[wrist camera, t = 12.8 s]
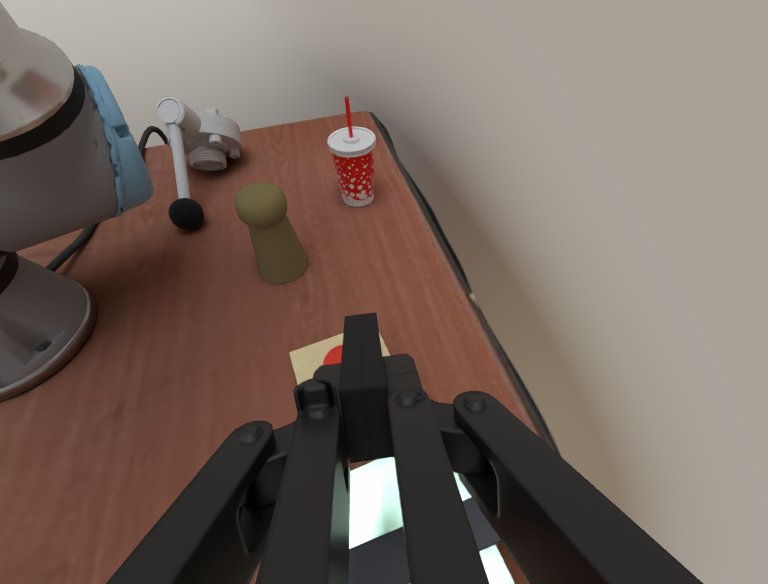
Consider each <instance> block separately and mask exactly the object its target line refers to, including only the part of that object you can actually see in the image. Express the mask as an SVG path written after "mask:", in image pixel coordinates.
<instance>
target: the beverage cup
mask: <svg viewBox="0 0 768 584" xmlns="http://www.w3.org/2000/svg"><path fill="white" fill-rule="evenodd" d="M345 105H346V114H347V122H348V127H346V128H342V129H339V130H337V131H335V132H333V133H332V134H331V135H330V136H329V137H328V145H329V149H330V151H331V152H332V156H333V160H334V164H335V168H336V173H337V177H338V181H339V185H340V190H341V194H342V198H343V201H344V202H345V204H347V205H349V206H353V207H362V206H365V205H368V204H369V203H371V202H372V200H373V199H374V153H373V148H374V147H375V134H374V133H373V132H372V131H371V130H369V129H366V128H362V127H352V123H351V114H350V106H349V98H348V97H345Z"/></svg>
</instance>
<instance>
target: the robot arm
mask: <svg viewBox="0 0 768 584" xmlns="http://www.w3.org/2000/svg"><path fill="white" fill-rule="evenodd" d="M152 132H156V133H157V134H158V135H159V136H160V137H161V138H162V140H163V141H164V143H165V144H168V139H167V137H166V135H165V134H164V133H163V132H162V131H161V130H160V129H159V128H157V127H154V126H150V127H148V128H147V129H146V130H145V131H144V133H143V135H142V138H141V140H140V143H139V145H138V147H137V144H136V142H135V141H134V138H133V136H132V134H131V133H130V131H129V128H128V126H127V124H126V122H125V119H124V117H123V114H122V112H121V110H120V108H119V106H118V104H117V102H116V100H115V98H114V96H113V94H112V92H111V90H110V88H109V86H108V84H107V82H106V81H105V79H104V77H103V75H102V74H101V72H100V71H99V70H98V69H97V68H95V67H93V66H83V65H80V64H79V65H76V66H75V67H74V66H73V65H72V63H71V62H70V60H69V59H68V57H67V56H66V55H65V53H64V52H63V51H62V50H61V49H60V48H59V47H58V46H57V45H56V44H55V43H54V42H52V41H50V40H48V39H47V38H45V37H43V36H41V35H39V34H37V33H34V32H31V31H28V30H25V29H22V28H19V27H18V26H17V24H16V23H15V22H14V20H13V19H12V18H11V16H10V15H9V13H8V12H7V11H6V9H5V8H4V6H3V5H2V4H1V2H0V401H2V400H5V399H8V398H11V397H13V396H16V395H18V394H20V393H22V392H24V391H26V390H28V389H30V388H32V387H34V386H36V385H37V384H39V383H41V382H42V381H44V380H45V379H47V378H48V377H50V376H51V375H53V374H54V373H55V372H56V371H58V370H59V369H60V368H61V367H63V366H64V365H65V364H66V363H67V362H68V361H69V360H70V359H71V358H72V357H73V356H74V355H75V354H76V353H77V352H78V351H79V349H80V348H81V347H82V346H83V344H84V343H85V342H86V340H87V338H88V337H89V335H90V333H91V331H92V329H93V327H94V324H95V321H96V317H97V305H96V302H95V300H94V298H93V296H92V295H91V294H90V293H89V292H88V291H87V290H86V289H85V288H84V287H83V286H81V285H80V284H79V283H78V282H76V281H74V280H73V279H71V278H69V277H66V276H63V275H61V274H57V273H55V271H56V270H57V269H58V268H59V267H60V266H61V265H62V264H63V263H64V262H65V261H66V260H67V259H68V258H69V257H70V256H71V255H72V254H73V253H75V252H76V251H77V250H78V249H79V248H80V247H81V246H82V245H83V244H84V243H85V241H86V240H87V239H88V238H89V236H90V235H91V233H92V232H93V230H94V228H95V227H96V225H97V223H99V222H102V221H105V220H107V219H110V218H113V217H118V216H120V215H121V214H122V213H123V212H125V211H128V210H130V209H132V208H134V207H137V206H139V205H141V204H143V203H145V202H147V201H148V200H149V199H150V197H151V196H152V194H153V183H152V180H151V177H150V174H149V172H148V169H147V167H146V164H145V162H144V157H143V151H144V148H145V145H146V143H147V140H148V137H149V135H150V134H151V133H152ZM82 228H84V230H83V231H82V233H81V234H80V235H79V236H78V238H77V239H76V240H75V241H74V242H73V243H72V244H71V245H69V246H68V247H67V248H66V249H65V250H64V251H62V252H61V253H60V254H59V255H58V256H57V257H56V258H55V259H54V260H53V261H52V262H51V263H50V264H49V265H48V266H47V267H46V268H45V267H43V266H40V265H38V264H36V263H34V262H32V261H30V260H27V259H25V258H23V257H21V256H19V255H18V254H17V253H15V252H17V251H19V250H22V249H25V248H28V247H31V246H34V245H36V244H39V243H42V242H45V241H48V240H51V239H53V238H56V237H59V236H62V235H65V234H68V233H70V232H73V231H76V230H79V229H82ZM293 392H294V397H295V402H296V407H297V412H298V416H297V420H296V421H294V422H293V423H291V424H289V425H286V426H284V427H281V428H278V429H275V430H273V428H272V425H271V424H270V423H269V422H266V421H253V422H249V423H246V424H244V425H242V426H240V427H238V428H237V429H235V430H234V431H233V432H232V433H231V434H230V435H229V436H228V437H227V439H226V440H225V441H224V442H223V443H222V445H221V446H220V447H219V448H218V449H217V451H216V452H215V453H214V454H213V455H212V457H211V458H210V459H209V460H208V461H207V463H206V464H205V465H204V466H203V467H202V469H201V470H200V471H199V472H198V473H197V475H196V476H195V477H194V478H193V480H192V481H191V482H190V483H189V484H188V486H187V487H186V488H185V489H184V490H183V492H182V493H181V494H180V495H179V496H178V498H177V499H176V500H175V501H174V502H173V504H172V505H171V506H170V507H169V508H168V510H167V511H166V512H165V513H164V514H163V516H162V517H161V518H160V519H159V520H158V522H157V523H156V524H155V525H154V526H153V528H152V529H151V530H150V531H149V532H148V534H147V535H146V536H145V537H144V538H143V540H142V541H141V542H140V543H139V544H138V546H137V547H136V548H135V549H134V550H133V552H132V553H131V554H130V555H129V557H128V558H127V559H126V560H125V561H124V563H123V564H122V565H121V566H120V567H119V569H118V570H117V571H116V572H115V573H114V575H113V576H112V577H111V578H110V579H109V581H108V582H107V583H106V584H249V583H250V581H251V579H252V577H253V575H254V573H255V571H256V569H257V567H258V565H259V563H260V561H261V564H260V568H259V572H258V576H257V580H256V584H349V532H350V477H351V475H350V469H349V463H348V460H349V459H350V463H354V462H361V461H368V460H375V459H382V458H390V457H394V461H395V469H396V477H397V486H398V492H399V500H400V507H401V515H402V523H403V530H404V538H405V546H406V554H407V561H408V569H409V577H410V584H490V583H489V580H488V577H487V574H486V571H485V568H484V565H483V562H482V559H481V556H480V553H479V550H478V547H477V544H476V540H475V537H474V534H473V531H472V528H471V525H470V522H469V519H468V516H467V513H466V510H465V507H464V504H463V501H462V498H461V495H460V492H459V488H458V485H457V482H456V479H455V476H454V473H453V472H455V473H457V474H458V477H459V479H460V481H461V482H462V484H463V485H464V487H465V488H466V490H467V491H468V493H469V494H470V495H471V497H472V498H473V500H474V501H475V503H476V504H477V506H478V507H479V509H480V510H481V512H482V513H483V515H484V516H485V517H486V519H487V520H488V522H489V523H490V525H491V526H492V528H493V529H494V531H495V532H496V534H497V535H498V537H499V538H500V540H501V541H502V542H503V544H504V545H505V547H506V548H507V550H508V551H509V553H510V554H511V556H512V557H513V559H514V560H515V562H516V563H517V564H518V566H519V567H520V569H521V570H522V572H523V573H524V575H525V576H526V578H527V579H528V581H529V582H530V584H703V583H702V582H701V581H700V580H699V579H697V578H696V577H695V576H694V575H693V574H692V573H691V572H690V571H689V570H687V569H686V568H685V567H684V566H683V565H682V564H681V563H679V562H678V561H677V560H676V559H675V558H674V557H673V556H672V555H671V554H669V553H668V552H667V551H666V550H665V549H664V548H663V547H662V546H660V545H659V544H658V543H657V542H656V541H655V540H654V539H653V538H651V537H650V536H649V535H648V534H647V533H646V532H645V531H644V530H642V529H641V528H640V527H639V526H638V525H637V524H636V523H635V522H634V521H632V520H631V519H630V518H629V517H628V516H627V515H626V514H624V513H623V512H622V511H621V510H620V509H619V508H618V507H617V506H616V505H614V504H613V503H612V502H611V501H610V500H609V499H608V498H607V497H605V496H604V495H603V494H602V493H601V492H600V491H599V490H598V489H596V488H595V487H594V486H593V485H592V484H591V483H590V482H589V481H587V480H586V479H585V478H584V477H583V476H582V475H581V474H580V473H579V472H577V471H576V470H575V469H574V468H573V467H572V466H571V465H570V464H568V463H567V462H566V461H565V460H564V459H563V458H562V457H561V456H559V455H558V454H557V453H556V452H555V451H554V450H553V449H552V448H550V447H549V446H548V445H547V444H546V443H545V442H544V441H543V440H541V439H540V438H539V437H538V436H537V435H536V434H535V433H534V432H533V431H531V430H530V429H529V428H528V427H527V426H526V425H525V424H524V423H522V422H521V421H520V420H519V419H518V418H517V417H516V416H515V415H513V414H512V413H511V412H510V411H509V410H508V409H507V408H506V407H504V406H503V405H502V404H501V403H500V402H499V401H498V400H497V399H495V398H494V397H493V396H491V395H490V394H488V393H484V392H481V391H468V392H463V393H461V394H459V395H457V397H456V398H455V399H454V402H453V404H446V403H439V402H436V401H433V400H431V399H429V397H428V395H427V394H426V392H425V391H423V388H422V385H421V382H420V379H419V376H418V373H417V369H416V367H415V363H414V360H413V358H411V357H410V356H409V355H407V354H399V355H391V356H384V357H382V350H381V343H380V336H379V329H378V322H377V315H376V313H368V314H360V315H352V316H345V322H344V334H343V345H342V356H341V363H337V364H329V365H321V366H319V368H318V369H317V370H316V371H315V372H314V374H313V378H312V379H308V380H306V381H304V382H302V383H300V384H299V385H298V386H296V388H295V389H294V391H293ZM261 559H262V560H261Z"/></svg>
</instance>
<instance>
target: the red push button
mask: <svg viewBox="0 0 768 584" xmlns="http://www.w3.org/2000/svg"><path fill="white" fill-rule="evenodd" d="M341 356H342V345H339V346H336V347H334V348H332V349H331V350H330V351H329V352H328V353H327V355H326V356H325V358H324V362H323V365H329V364H337V363H341Z"/></svg>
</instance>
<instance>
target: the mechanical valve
mask: <svg viewBox="0 0 768 584" xmlns="http://www.w3.org/2000/svg"><path fill="white" fill-rule="evenodd" d="M156 108H158V114H159V117H160V119H161V120H162V121H163V122H165V125H166V131H167V138H168V145H169V147H170V148H171V149H172V152H173V160H174V168H175V175H176V183H177V191H178V198H179V199H177V200H175V201H174V202H173V203H172V204H171V206H170V208H169V217H170V219H171V221H172V222H173V223H174V224H175V225H176V226H177V227H179V228H182V229H194V228H196V227H198V226H199V225H200V224H201V223H202V221H203V218H204V213H203V209H202V208H201V206H200V205H199V204H198V203H197V202H196V201H194V200H192V199H191V197H190V190H189V182H188V175H187V167H186V160H185V155H187V156H189V159H190V165H191V166H192V167H194V168H196V169H200V170H206V171H215V170H221V169H225V168H226V167H227V162H226V157H227V156H229V157H230V158H239V157H240V152H239V151H240V150H241V148H242V145H241V137H240V129H239V126H238V124H237V123H236V122H234V121H233V120H231V119H229V118H227V117H224V116H222V115H219V111H218V110H217V109H215V108H206V109H205V110H204V112H194V111H193V110H192V109H190V108H189V107H188V106H186V105H185V104H184V103H183V102H182V101H180V100H179V99H177V98H176V97H173V96H167V97H164V98H162V99H161V100H160V101H159V102H158V103H157V105H156Z"/></svg>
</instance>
